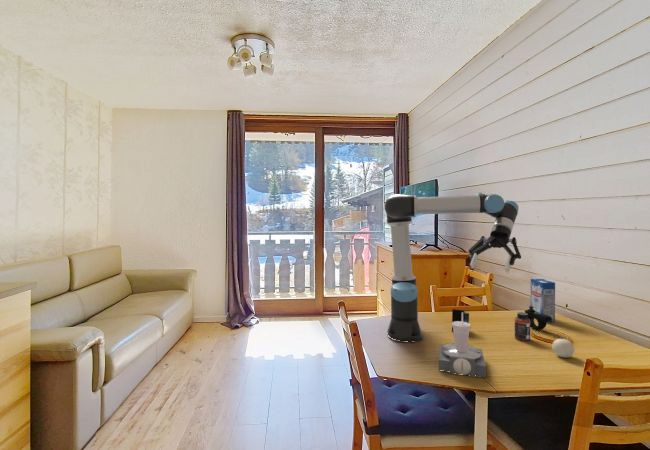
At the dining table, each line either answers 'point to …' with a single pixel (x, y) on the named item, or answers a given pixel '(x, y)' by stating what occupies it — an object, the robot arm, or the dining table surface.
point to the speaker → (459, 316)
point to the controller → (537, 318)
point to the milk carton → (543, 297)
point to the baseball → (563, 348)
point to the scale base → (462, 364)
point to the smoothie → (461, 334)
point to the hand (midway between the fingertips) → (488, 268)
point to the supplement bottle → (522, 326)
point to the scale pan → (470, 353)
